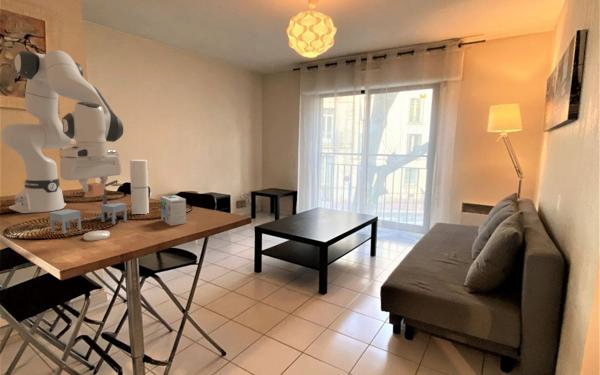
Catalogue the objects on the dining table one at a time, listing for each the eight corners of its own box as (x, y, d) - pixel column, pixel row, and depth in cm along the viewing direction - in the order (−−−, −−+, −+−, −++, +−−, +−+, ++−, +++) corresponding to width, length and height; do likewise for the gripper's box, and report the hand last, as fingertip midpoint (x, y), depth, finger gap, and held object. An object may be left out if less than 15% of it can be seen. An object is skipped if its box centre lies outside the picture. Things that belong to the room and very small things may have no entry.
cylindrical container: (141, 215, 143) (140, 161, 139) (128, 214, 144) (126, 160, 140) (152, 212, 150) (150, 160, 146) (139, 210, 151) (137, 159, 147)
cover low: (68, 228, 120) (67, 209, 119) (81, 230, 118) (80, 211, 117) (51, 232, 114) (49, 212, 113) (63, 235, 112) (62, 214, 111)
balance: (81, 222, 128) (79, 183, 125) (117, 213, 144) (115, 179, 141) (92, 224, 126) (90, 185, 124) (127, 215, 142) (126, 180, 140)
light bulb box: (160, 220, 137) (160, 196, 135) (176, 218, 141) (175, 194, 140) (171, 226, 129) (170, 200, 128) (186, 223, 134) (186, 198, 132)
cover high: (101, 222, 129) (100, 205, 128) (115, 219, 135) (114, 202, 134) (113, 224, 127) (112, 206, 126) (126, 220, 133) (126, 203, 132)
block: (85, 195, 108) (84, 184, 108) (95, 193, 112) (95, 182, 111) (93, 196, 107) (93, 185, 106) (104, 194, 111) (103, 183, 110)
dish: (77, 238, 109) (77, 235, 109) (98, 232, 117) (98, 229, 117) (95, 241, 107) (95, 238, 107) (115, 235, 114) (115, 232, 114)
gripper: (111, 149, 118) (113, 185, 120) (54, 151, 98) (58, 194, 101) (124, 150, 116) (126, 187, 118) (69, 152, 97) (72, 195, 99)
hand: (94, 190), depth 109 cm, fingers closed on block, 4 cm apart
